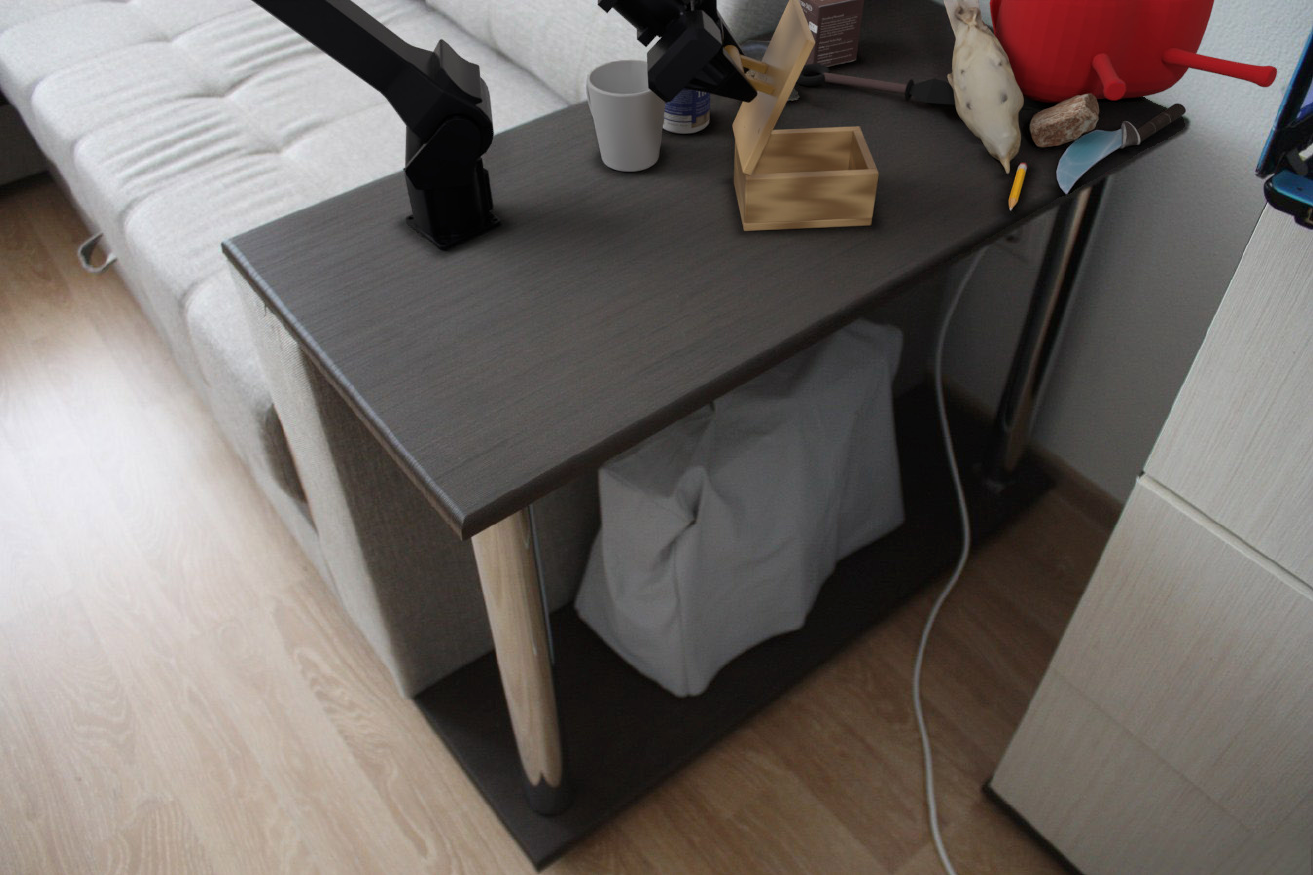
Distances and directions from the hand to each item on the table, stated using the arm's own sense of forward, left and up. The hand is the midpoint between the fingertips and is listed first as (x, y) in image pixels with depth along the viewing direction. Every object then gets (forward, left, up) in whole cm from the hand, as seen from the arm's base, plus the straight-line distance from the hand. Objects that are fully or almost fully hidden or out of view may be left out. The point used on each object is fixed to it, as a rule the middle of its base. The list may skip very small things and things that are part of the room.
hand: (751, 83), depth 87 cm
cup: (-2, +15, -12) cm, 20 cm away
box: (+29, +17, -12) cm, 36 cm away
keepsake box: (+4, -3, -12) cm, 13 cm away
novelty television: (+49, +3, -7) cm, 49 cm away
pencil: (+20, -15, -11) cm, 28 cm away
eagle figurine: (+17, +15, -12) cm, 26 cm away
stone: (+33, -15, -11) cm, 38 cm away
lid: (+2, -1, -1) cm, 2 cm away
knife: (+34, -14, -11) cm, 38 cm away
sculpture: (+26, -4, -4) cm, 27 cm away
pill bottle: (+7, +16, -12) cm, 21 cm away
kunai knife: (+30, -9, -14) cm, 35 cm away
